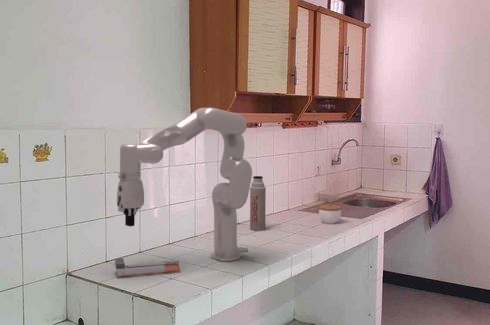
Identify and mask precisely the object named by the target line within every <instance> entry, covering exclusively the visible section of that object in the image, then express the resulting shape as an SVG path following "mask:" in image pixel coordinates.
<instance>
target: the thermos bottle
mask: <svg viewBox="0 0 490 325" xmlns="http://www.w3.org/2000/svg"><path fill="white" fill-rule="evenodd" d="M252 178H253V181H251V183H250V188H249V192H250V194H249V195H250V196H249V219H250V220H249V230H250V231H252V230H253V232H263V231H266V199H267V197H266V186H265V182H264V181H263V179H264V178H263V176H260V175H255V176H253V177H252Z"/></svg>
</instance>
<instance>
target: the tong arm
mask: <svg viewBox="0 0 490 325" xmlns="http://www.w3.org/2000/svg"><path fill="white" fill-rule="evenodd" d="M167 264H177V265H178V269H180V262H179V260H172V261H171V260H169V261H160V262H158V261H157V262H149V263H148V262H146V263H133V264H127V265H128V268H134V267H145V266H156V265H167Z"/></svg>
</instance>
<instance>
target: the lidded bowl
mask: <svg viewBox="0 0 490 325" xmlns="http://www.w3.org/2000/svg"><path fill="white" fill-rule="evenodd" d="M342 209H343V207H342V205H338V204H332V202H329V203H327V204H320V205H318V215H319V218H320V220H321V221H322V222H323V224H327V225H334V224H337V222H338V221H339V220H340V219H341V216H342Z"/></svg>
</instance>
